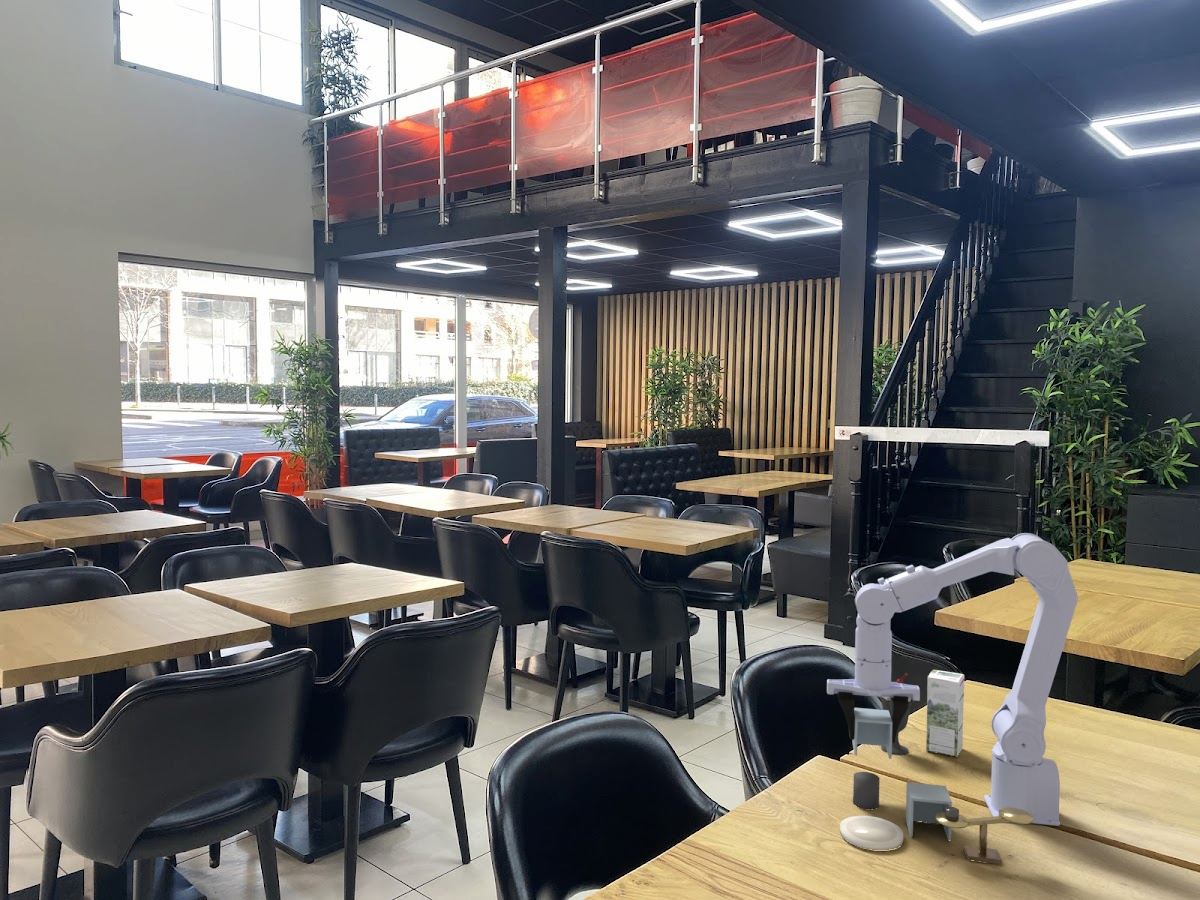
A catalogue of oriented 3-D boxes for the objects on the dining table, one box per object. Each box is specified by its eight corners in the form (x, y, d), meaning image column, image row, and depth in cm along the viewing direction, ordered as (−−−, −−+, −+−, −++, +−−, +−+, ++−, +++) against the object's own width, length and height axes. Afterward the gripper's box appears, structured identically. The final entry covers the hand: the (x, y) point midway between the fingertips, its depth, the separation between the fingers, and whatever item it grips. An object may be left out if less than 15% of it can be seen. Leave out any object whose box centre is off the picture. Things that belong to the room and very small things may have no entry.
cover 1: (887, 745, 143) (888, 710, 143) (891, 758, 138) (892, 722, 138) (852, 742, 145) (853, 707, 144) (854, 755, 139) (855, 719, 139)
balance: (1027, 855, 122) (1028, 809, 122) (1035, 871, 118) (1037, 823, 118) (932, 844, 125) (933, 799, 125) (937, 859, 121) (938, 812, 121)
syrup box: (963, 748, 162) (965, 672, 161) (957, 758, 157) (959, 681, 156) (931, 742, 165) (933, 667, 164) (925, 752, 160) (926, 675, 159)
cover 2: (944, 824, 132) (945, 785, 131) (950, 841, 126) (951, 802, 126) (905, 819, 133) (906, 781, 133) (910, 837, 127) (911, 797, 127)
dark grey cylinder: (877, 800, 140) (878, 773, 139) (879, 811, 136) (880, 783, 136) (852, 797, 141) (853, 770, 140) (853, 808, 137) (854, 780, 137)
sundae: (916, 758, 157) (918, 677, 156) (878, 754, 158) (880, 675, 158) (911, 744, 163) (913, 667, 163) (874, 741, 165) (876, 664, 164)
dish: (899, 825, 131) (899, 819, 131) (906, 855, 122) (906, 847, 122) (838, 819, 133) (838, 812, 133) (841, 847, 124) (841, 840, 124)
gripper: (828, 661, 138) (827, 744, 139) (923, 667, 135) (921, 752, 136) (827, 650, 145) (825, 728, 146) (916, 655, 142) (915, 736, 143)
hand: (871, 739), depth 141 cm, fingers closed on cover 1, 6 cm apart
